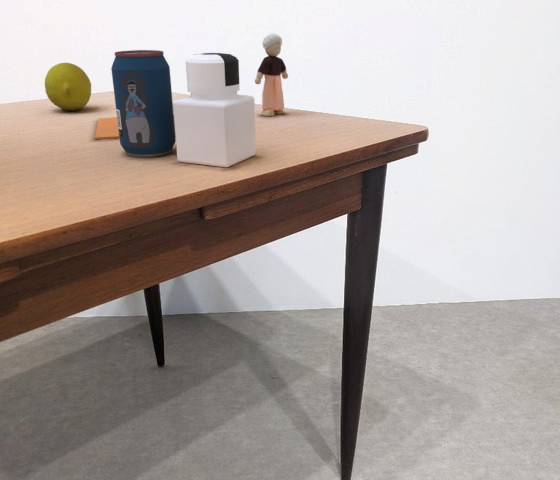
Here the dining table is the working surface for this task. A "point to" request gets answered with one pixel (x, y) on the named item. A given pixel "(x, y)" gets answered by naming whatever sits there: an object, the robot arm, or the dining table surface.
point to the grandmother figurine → (272, 76)
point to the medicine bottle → (214, 113)
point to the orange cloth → (107, 128)
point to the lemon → (68, 86)
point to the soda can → (143, 102)
